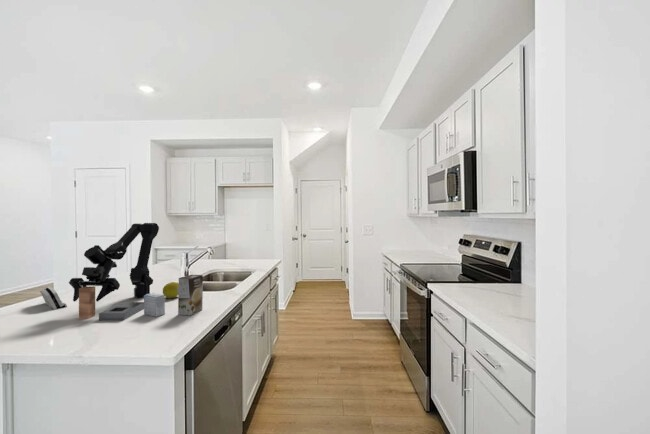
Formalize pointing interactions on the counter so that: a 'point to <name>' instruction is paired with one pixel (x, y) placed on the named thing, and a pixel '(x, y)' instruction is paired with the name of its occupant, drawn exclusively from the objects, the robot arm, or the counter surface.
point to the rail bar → (121, 311)
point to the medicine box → (154, 304)
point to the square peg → (87, 302)
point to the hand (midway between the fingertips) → (85, 301)
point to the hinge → (52, 298)
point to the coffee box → (190, 294)
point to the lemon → (171, 290)
